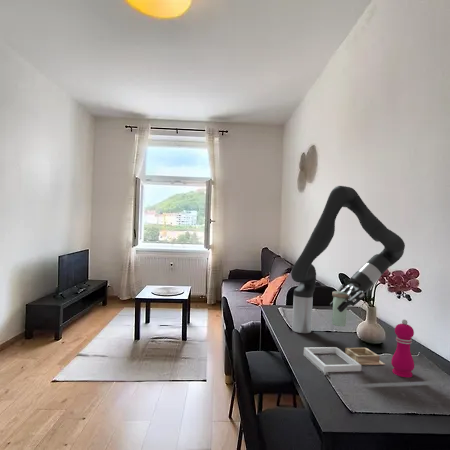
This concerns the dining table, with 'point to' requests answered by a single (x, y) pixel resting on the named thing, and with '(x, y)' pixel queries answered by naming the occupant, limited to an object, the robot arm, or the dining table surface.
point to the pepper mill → (403, 350)
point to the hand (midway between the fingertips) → (335, 308)
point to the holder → (363, 356)
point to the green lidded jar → (338, 316)
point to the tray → (331, 368)
